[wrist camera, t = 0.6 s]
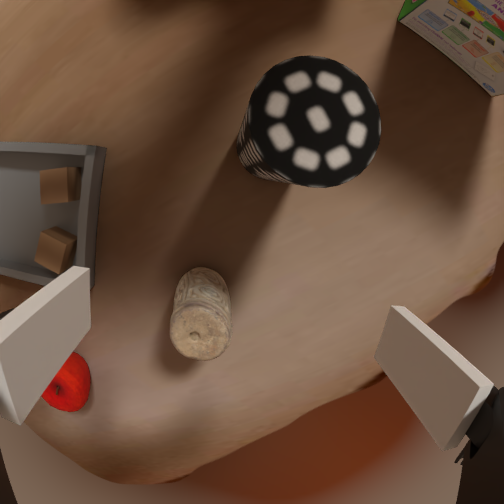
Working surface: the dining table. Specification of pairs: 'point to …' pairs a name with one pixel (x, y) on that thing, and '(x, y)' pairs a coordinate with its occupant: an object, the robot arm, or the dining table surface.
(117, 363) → the dining table surface
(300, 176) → the spotted tube
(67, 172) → the walnut block
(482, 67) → the game box
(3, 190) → the tray
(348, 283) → the dining table surface
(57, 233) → the walnut block
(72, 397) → the apple
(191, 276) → the carving
